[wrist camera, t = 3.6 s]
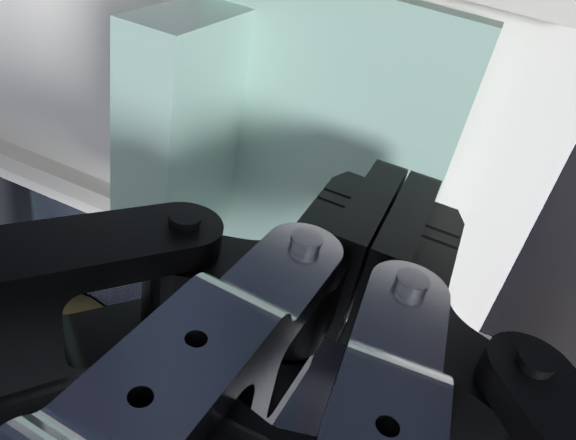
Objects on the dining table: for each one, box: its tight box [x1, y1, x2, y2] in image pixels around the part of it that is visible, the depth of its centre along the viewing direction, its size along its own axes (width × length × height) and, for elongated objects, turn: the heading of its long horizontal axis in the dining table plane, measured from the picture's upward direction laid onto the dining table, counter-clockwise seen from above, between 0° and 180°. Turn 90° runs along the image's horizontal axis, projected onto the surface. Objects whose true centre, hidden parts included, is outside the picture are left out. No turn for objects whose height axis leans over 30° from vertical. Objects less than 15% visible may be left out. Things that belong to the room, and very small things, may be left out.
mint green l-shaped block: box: [110, 0, 504, 240], centre depth 13 cm, size 7×8×4 cm
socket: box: [0, 0, 576, 332], centre depth 18 cm, size 20×12×7 cm, turn 79°
